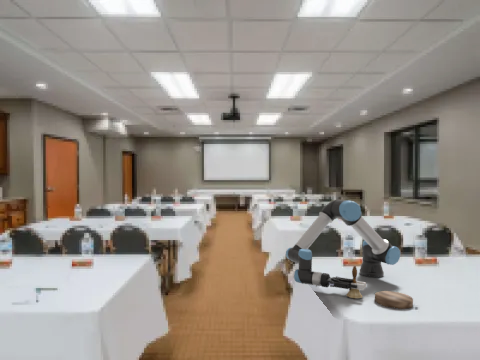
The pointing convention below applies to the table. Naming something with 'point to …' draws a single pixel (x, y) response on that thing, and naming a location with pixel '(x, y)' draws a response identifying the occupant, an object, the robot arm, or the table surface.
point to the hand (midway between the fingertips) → (364, 286)
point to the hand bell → (354, 292)
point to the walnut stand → (393, 299)
